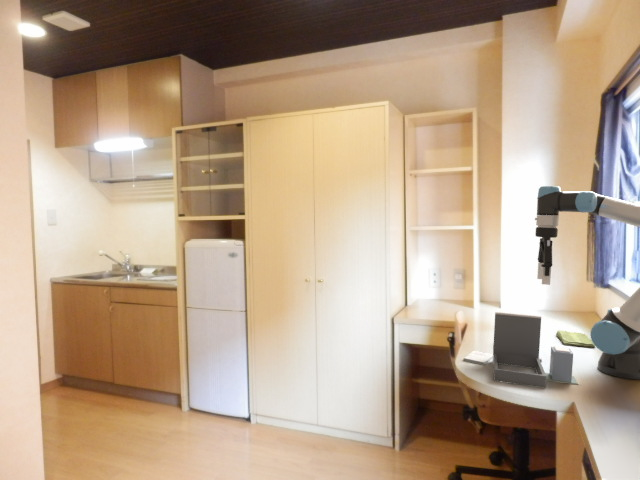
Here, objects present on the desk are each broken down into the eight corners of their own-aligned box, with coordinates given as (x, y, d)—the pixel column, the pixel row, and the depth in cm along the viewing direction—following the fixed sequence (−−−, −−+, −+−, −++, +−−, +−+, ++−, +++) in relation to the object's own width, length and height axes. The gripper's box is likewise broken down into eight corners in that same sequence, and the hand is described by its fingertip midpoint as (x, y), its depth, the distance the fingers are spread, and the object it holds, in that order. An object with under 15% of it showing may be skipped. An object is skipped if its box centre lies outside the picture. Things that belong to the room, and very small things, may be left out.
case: (540, 367, 170) (543, 316, 168) (548, 388, 150) (551, 330, 148) (492, 361, 175) (495, 311, 174) (494, 380, 156) (497, 325, 154)
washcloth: (563, 346, 199) (563, 339, 198) (554, 335, 215) (555, 329, 215) (596, 349, 195) (597, 342, 195) (585, 338, 212) (586, 331, 211)
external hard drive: (463, 362, 176) (472, 354, 186) (484, 366, 171) (493, 358, 181) (463, 358, 175) (473, 350, 186) (484, 362, 171) (493, 354, 181)
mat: (574, 377, 160) (574, 376, 160) (578, 384, 154) (578, 383, 154) (543, 373, 164) (543, 372, 164) (545, 380, 157) (545, 379, 157)
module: (568, 376, 160) (570, 347, 160) (571, 382, 155) (573, 352, 154) (549, 373, 162) (551, 345, 162) (551, 379, 157) (553, 350, 156)
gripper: (532, 225, 185) (529, 276, 187) (540, 227, 162) (536, 285, 163) (552, 226, 183) (549, 277, 184) (563, 228, 159) (559, 287, 161)
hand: (543, 281), depth 174 cm, fingers open, 13 cm apart
